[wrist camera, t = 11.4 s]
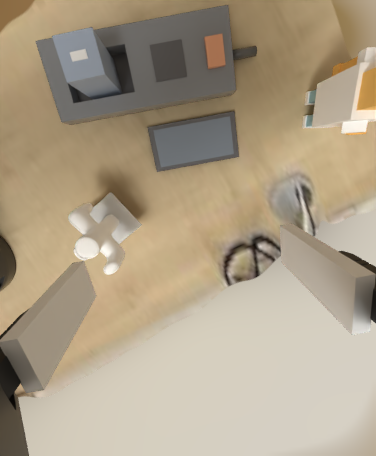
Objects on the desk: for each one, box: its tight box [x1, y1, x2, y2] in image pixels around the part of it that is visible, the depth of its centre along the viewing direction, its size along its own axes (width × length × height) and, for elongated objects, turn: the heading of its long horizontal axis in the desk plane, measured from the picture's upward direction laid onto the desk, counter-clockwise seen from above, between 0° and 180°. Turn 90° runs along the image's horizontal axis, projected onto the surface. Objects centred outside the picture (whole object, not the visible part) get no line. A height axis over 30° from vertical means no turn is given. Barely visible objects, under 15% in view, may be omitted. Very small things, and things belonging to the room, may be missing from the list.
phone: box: [148, 111, 239, 172], centre depth 37 cm, size 14×7×1 cm, turn 100°
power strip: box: [36, 5, 257, 125], centre depth 33 cm, size 30×10×4 cm, turn 100°
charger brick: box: [52, 27, 122, 100], centre depth 30 cm, size 4×4×9 cm
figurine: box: [68, 192, 141, 275], centre depth 34 cm, size 7×9×15 cm
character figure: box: [302, 47, 376, 135], centre depth 29 cm, size 8×10×18 cm
